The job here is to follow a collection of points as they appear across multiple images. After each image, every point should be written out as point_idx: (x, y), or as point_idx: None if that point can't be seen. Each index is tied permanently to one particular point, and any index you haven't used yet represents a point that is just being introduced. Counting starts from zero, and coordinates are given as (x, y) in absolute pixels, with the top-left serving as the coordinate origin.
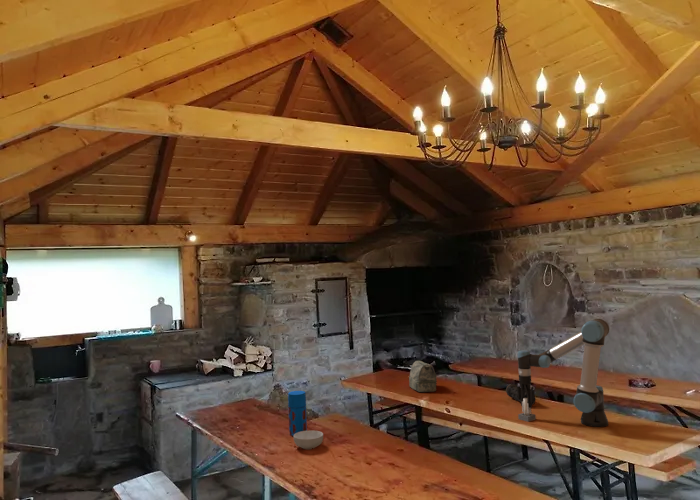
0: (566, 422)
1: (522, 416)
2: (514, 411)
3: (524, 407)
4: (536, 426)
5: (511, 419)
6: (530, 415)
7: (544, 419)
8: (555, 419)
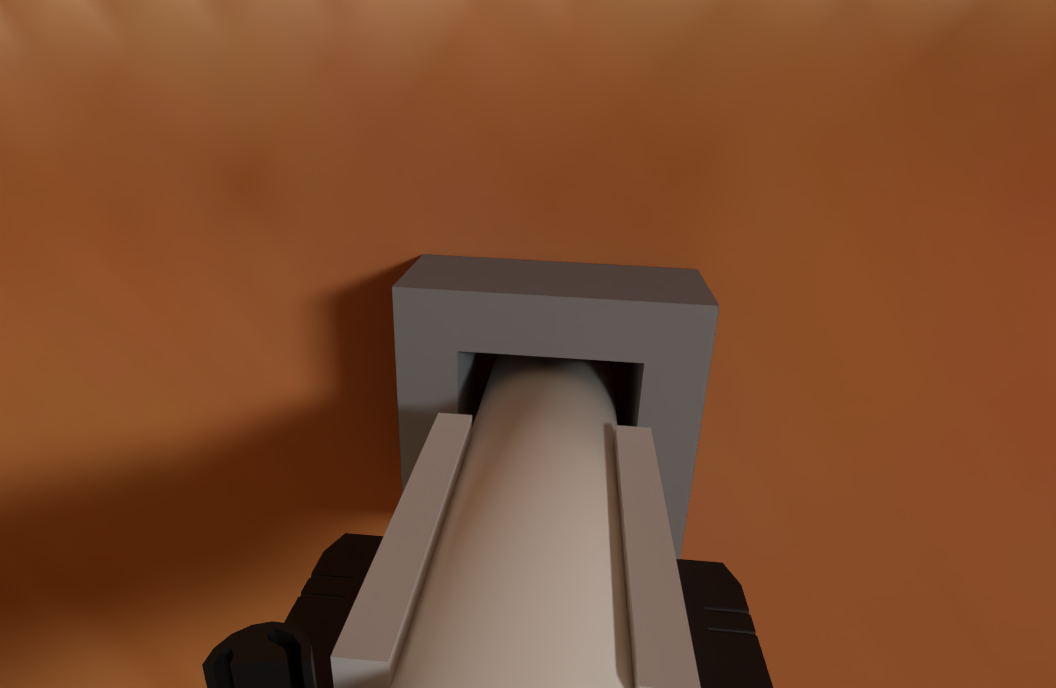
0: (35, 645)
1: (573, 288)
2: (1050, 644)
3: (538, 489)
4: (72, 89)
5: (817, 119)
6: None
7: None
8: None
